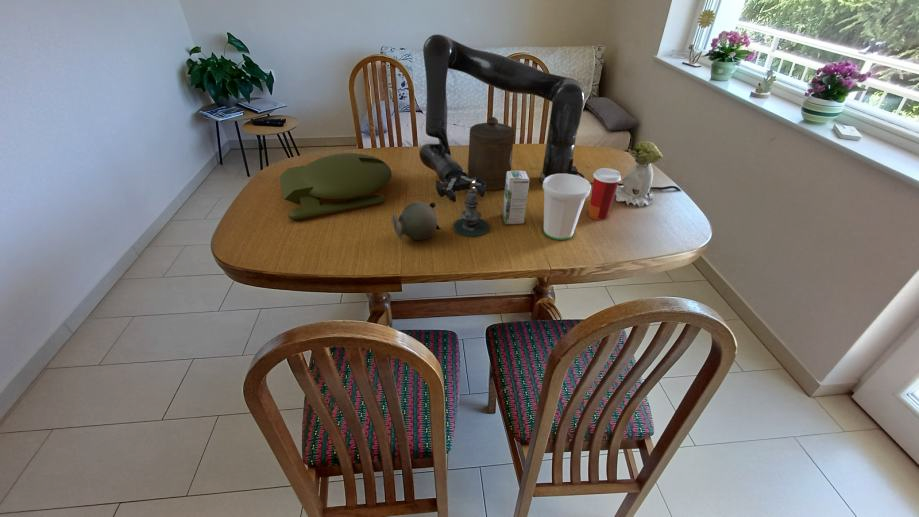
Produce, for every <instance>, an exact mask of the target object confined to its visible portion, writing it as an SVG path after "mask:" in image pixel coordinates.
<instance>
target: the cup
mask: <svg viewBox="0 0 919 517" xmlns="http://www.w3.org/2000/svg"><path fill="white" fill-rule="evenodd" d="M590 183H591V182H590V181H589V180H587V179H586V178H585V179H584V178H582V177H581V176H580V175H577V176H576V175H571V174H554V175H550V176H548V177H546V178H545V179H544V181H543V183H542V190H543V192H544V193H543V197H544V198H543V233H544V235H546V237H548V238H550V239H552V240H556V241H566V240H570V239H572V237H573V236H574V232H575V230H576V227H577V225H578V221H579V218H580V215H581V212H582V209H583V207H584V203H585V201H586V199H587V197H588V196H589V195H590V192H591V190H592V184H590Z"/></svg>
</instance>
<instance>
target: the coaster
mask: <svg viewBox="0 0 919 517" xmlns="http://www.w3.org/2000/svg"><path fill="white" fill-rule="evenodd" d="M462 223H463V220H462V218H460V219H458V220H456V221H455V222H454V225H453V228H454V231H455V232H456V233H457V234H459V235H461V236H464V237H470V238H471V237H472V238H473V237H474V238H475V237H480V236H483V235H485V234H486V233H487V232H488V231H489V224H488V222H487V221H485V220H484V219H482V218H480V220H479V222H478V223H479V224H480V227H479V228H478V229H477V230H473V231H469V230H465V229H463V228H462Z"/></svg>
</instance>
